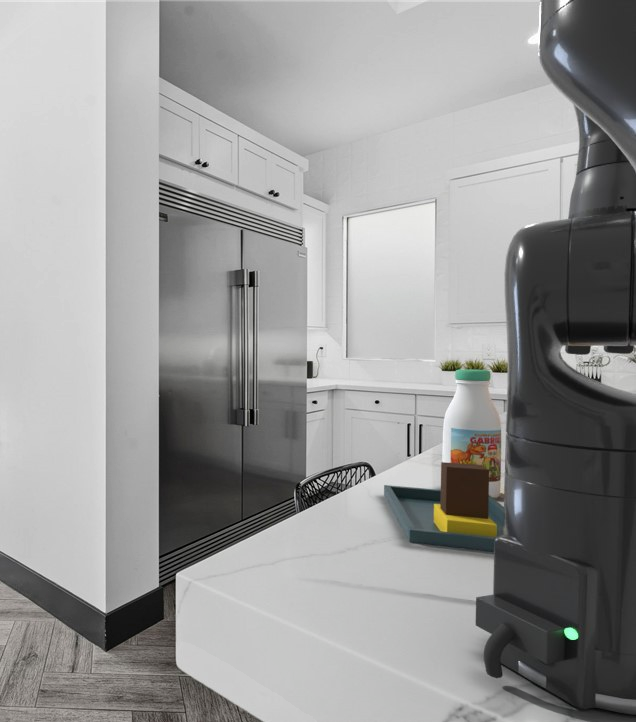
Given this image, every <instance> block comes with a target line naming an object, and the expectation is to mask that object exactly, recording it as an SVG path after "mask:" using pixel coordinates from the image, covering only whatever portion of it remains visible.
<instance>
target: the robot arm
mask: <svg viewBox="0 0 636 722" xmlns="http://www.w3.org/2000/svg"><path fill="white" fill-rule="evenodd" d="M538 24H539V26H538V59H539V63H540V66H541V68H542V70H543V72H544V74H545V76H546V77H547V79H548V80H549V82H550V83H551V84H552V85H553V86H554V87H555V89H556V90H557V91H558V92H560V93H561V94H562V95H563V96H564V97H565V99H567V100H568V102H570V103H571V104H572V105H573V109H574V112H575V117H576V121H577V127H578V128H577V129H578V153H577V154H578V155H577V160H576V161H577V162H576V171H575V172H576V173H575V178H574V183H573V187H572V191H571V193H570V199H569V207H568V214H567V215H568V217H567V218H565V219H557V220H549V221H542V222H536V223H532V224H528V225H525V226H523V227H521V228H520V229H519V230H517V232H515V234H514V235H513V237H512V239H511V240H510V242H509V244H508V248H507V250H506V251H507V252H506V254H505V263H504V274H503V275H504V278H503V279H504V282H503V283H504V308H505V309H504V310H505V326H506V348H507V349H506V353H507V355H506V356H507V373H506V374H507V375H506V377H507V378H506V379H507V380H506V381H507V382H506V383H507V388H506V416H505V420H506V421H505V432H506V433H505V453H504V454H505V455H504V484H503V485H504V489H503V490H504V492H503V495H504V496H503V507H504V526H503V536H498V537H496V538H495V541H494V552H493V581H492V583H493V584H492V585H493V586H492V587H493V588H492V594H487V595H483V596H476V597H475V626H476V627H478V628H480V629H481V630H483V631H485V632H486V633H489V634H491V635H490V636H489V638H488V639H487V641H486V643H485V645H484V649H483V662H484V667H485V672H486V674H487V675H488V676H490V677H491V678H494V679H501V678H502V677H503V667H502V665H503V666H505V667H507V668H508V669H511V670H512V671H514V672H515V673H517V674H519V675H521V676H522V677H524V678H525V679H526V678H527V679H528V680H529V681H531V682H532V683H535V684H536V685H538V686H539V687H541V688H543V689H544V690H546V691H548V692H550V693H551V694H553V695H555V696H557V697H558V698H560V699H562V700H564V701H565V702H567V703H568V704H571V705H572V706H574V707H575V708H577V709H580V710H588V709H594V708H595V709H601V710H606V711H609V712H610V711H611V712H616V713H619V714H620V713H621V714H628V715H636V393H633V392H630V391H626V390H622V389H619V388H615V387H614V386H610V385H608V384H606V383H602V382H600V381H598V380H595V379H593V378H591V377H589V376H587V375H586V374H584V373H582V372H580V371H578V370H576V369H575V368H573V367H572V366H571V365H570V364H568V363H567V362H566V361H565V360H564V358H563V356H562V353H561V350H562V348H563V347H565V348H564V352H565V353H566V354H568V355H579V356H581V355H582V356H586V355H589V354H590V353H591V349H592V347H603V351H604V352H605V353H607V354H619V355H630V354H631V353H633V352H634V349H635V347H636V0H540V4H539V23H538Z"/></svg>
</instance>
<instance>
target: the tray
mask: <svg viewBox="0 0 636 722" xmlns="http://www.w3.org/2000/svg"><path fill="white" fill-rule="evenodd" d="M383 495H384V498H385V499H386V501H387V504H388V505H389V507H390V509H391V511H392V513H393V515H394V516H395V518H396V521H397V522H398V524H399V526H400V528H401V530H402V531H403V533H404V535H405V537H406V539H407V541H408V543H411V544H419V545H428V546H437V547H444V548H453V549H462V550H470V551H478V552H479V551H480V552H488V553H494V541H495V538H496V537H489V536H480V535H470V534H461V533H452V532H443V531H440V530H439V528H438V527H437V526H436V524H435V523H434V504H440V503H441V489H437V488H436V489H435V488H426V487H425V488H424V487H413V486H412V487H411V486H402V485H401V486H400V485H390V484H384V485H383ZM488 517H489V518H490V519H491V520H492V521H493V522H494V523H495V524H496V525H497V537H498V536H503V526H504V505H502V504H501V503H499V501H497V500H496V498H492V497H491V496H490V495H489V504H488Z"/></svg>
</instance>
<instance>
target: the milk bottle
mask: <svg viewBox="0 0 636 722" xmlns="http://www.w3.org/2000/svg"><path fill="white" fill-rule="evenodd" d="M454 376H455V377H454V378H455V382H454V383H455V384H456V389H455V392H454V395H453V398H452V400H451V401H450V403H449V405H448V406H447V408H446V411H445V414H444V418H443V426H442V451H441V453H442V455H441V462H446V463H461V464H475V465H483V466H484V467H486V468H487V469H489V495H490V496H491V497H492V498H493V499H497V498H499V497H500V495H501V485H502V483H501V481H502V478H501V477H502V422H501V417H500V414H499V412H498V410H497V407H496V406H495V404H494V402H493V400H492V397H491V393H490V391H489V386H490V384H491V377H492V376H491V371H490V370H487V369H456V370H455V375H454Z"/></svg>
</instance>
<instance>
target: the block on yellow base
mask: <svg viewBox="0 0 636 722" xmlns="http://www.w3.org/2000/svg"><path fill="white" fill-rule="evenodd" d="M440 490H441V503H440V504H434V523H435V524H436V526H437V527H438V528H439V530H440V531H443V532H452V533H461V534H470V535H480V536H489V537H497V525H496V524H495V523H494V522H493V521H492V520H491V519H490V518H489V517H488V504H489V469H487V468H486V467H484V466H483V465H475V464H461V463H446V462H442V461H441V462H440Z"/></svg>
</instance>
